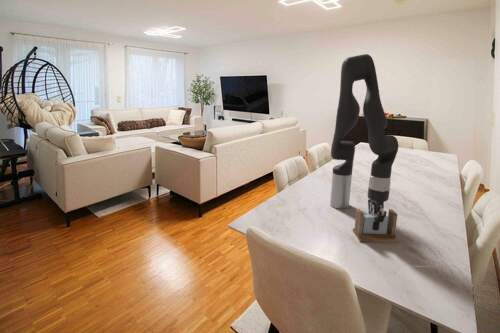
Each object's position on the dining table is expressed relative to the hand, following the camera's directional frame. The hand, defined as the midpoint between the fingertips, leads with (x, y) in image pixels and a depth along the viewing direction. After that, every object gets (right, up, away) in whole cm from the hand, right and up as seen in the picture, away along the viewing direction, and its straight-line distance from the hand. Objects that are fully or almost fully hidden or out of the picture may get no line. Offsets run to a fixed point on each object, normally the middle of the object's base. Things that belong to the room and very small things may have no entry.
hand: (374, 228), depth 117 cm
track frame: (0, -3, +1) cm, 4 cm away
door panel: (0, -3, +1) cm, 3 cm away
